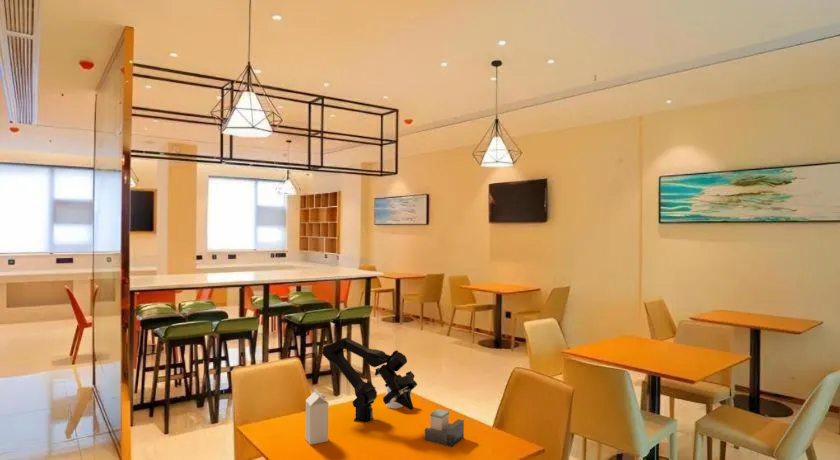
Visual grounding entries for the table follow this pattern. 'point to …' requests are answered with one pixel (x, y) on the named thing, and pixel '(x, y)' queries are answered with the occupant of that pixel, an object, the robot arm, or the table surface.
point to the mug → (393, 404)
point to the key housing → (446, 434)
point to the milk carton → (316, 418)
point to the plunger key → (439, 420)
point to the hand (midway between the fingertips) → (412, 409)
